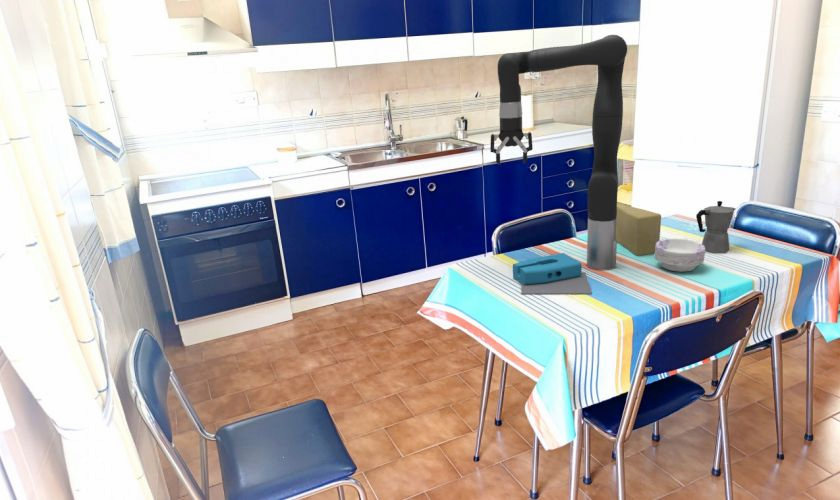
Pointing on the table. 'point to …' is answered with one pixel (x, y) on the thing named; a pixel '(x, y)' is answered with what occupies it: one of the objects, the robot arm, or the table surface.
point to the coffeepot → (716, 227)
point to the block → (547, 269)
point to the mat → (560, 286)
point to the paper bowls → (679, 254)
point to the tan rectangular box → (637, 229)
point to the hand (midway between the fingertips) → (511, 163)
